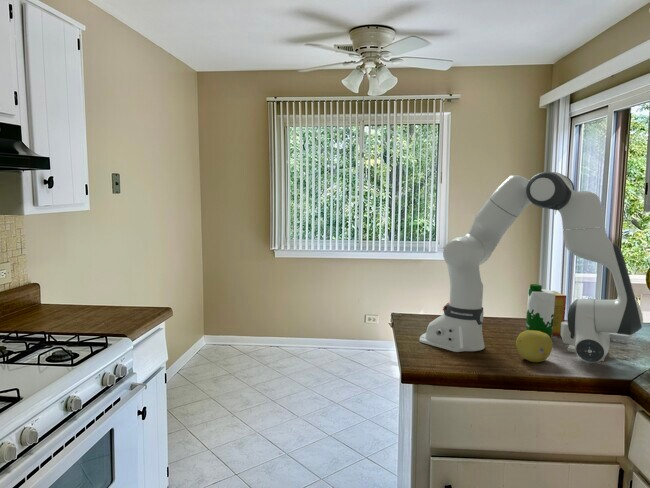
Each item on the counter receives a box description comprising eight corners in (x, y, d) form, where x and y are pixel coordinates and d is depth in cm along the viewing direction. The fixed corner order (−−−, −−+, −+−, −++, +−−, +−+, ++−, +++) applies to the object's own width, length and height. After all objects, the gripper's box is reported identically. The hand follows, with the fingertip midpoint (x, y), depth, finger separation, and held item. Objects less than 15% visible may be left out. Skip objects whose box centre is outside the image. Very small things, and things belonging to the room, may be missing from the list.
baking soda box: (563, 335, 175) (566, 294, 174) (546, 335, 175) (549, 294, 174) (550, 328, 185) (553, 289, 183) (534, 328, 185) (537, 289, 183)
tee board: (565, 354, 153) (565, 351, 153) (570, 344, 164) (570, 341, 164) (604, 361, 146) (604, 358, 146) (606, 350, 158) (606, 347, 158)
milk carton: (523, 332, 177) (526, 282, 175) (548, 334, 175) (551, 284, 174) (528, 339, 169) (532, 286, 167) (554, 341, 167) (558, 288, 165)
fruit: (558, 364, 143) (560, 333, 142) (529, 367, 140) (532, 335, 139) (535, 353, 153) (537, 324, 152) (508, 355, 150) (510, 326, 149)
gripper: (634, 334, 136) (634, 324, 147) (558, 322, 147) (563, 314, 158) (632, 354, 136) (632, 343, 148) (557, 341, 148) (562, 331, 159)
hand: (596, 328), depth 153 cm, fingers open, 8 cm apart
